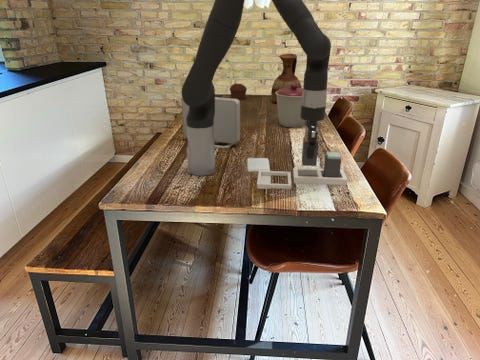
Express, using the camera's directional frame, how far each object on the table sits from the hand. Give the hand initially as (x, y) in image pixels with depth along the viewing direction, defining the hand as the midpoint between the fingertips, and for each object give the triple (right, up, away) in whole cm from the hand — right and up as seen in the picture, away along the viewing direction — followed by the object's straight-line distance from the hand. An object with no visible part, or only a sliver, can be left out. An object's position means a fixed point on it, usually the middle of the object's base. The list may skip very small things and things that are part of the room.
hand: (309, 155), depth 117 cm
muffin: (-24, +46, +122) cm, 133 cm away
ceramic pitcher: (+7, +42, +113) cm, 120 cm away
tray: (-11, -9, +2) cm, 15 cm away
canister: (+4, +20, +66) cm, 69 cm away
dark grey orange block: (0, -3, +1) cm, 3 cm away
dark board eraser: (+8, -8, +3) cm, 11 cm away
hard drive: (-16, -4, +16) cm, 23 cm away
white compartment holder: (+4, -9, +4) cm, 10 cm away
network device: (-35, +8, +40) cm, 54 cm away
